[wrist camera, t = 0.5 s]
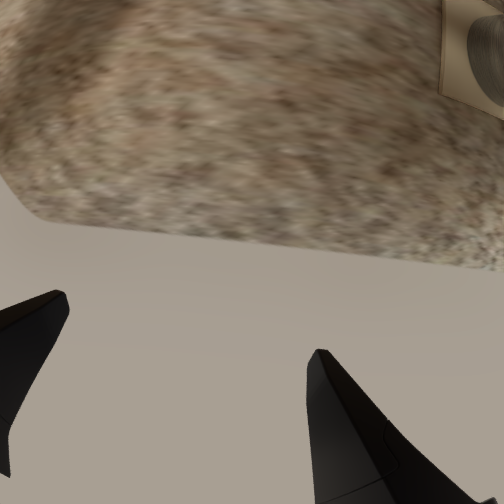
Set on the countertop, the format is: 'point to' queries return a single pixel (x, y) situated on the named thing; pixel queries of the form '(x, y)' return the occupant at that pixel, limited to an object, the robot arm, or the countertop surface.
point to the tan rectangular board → (463, 55)
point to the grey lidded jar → (488, 55)
